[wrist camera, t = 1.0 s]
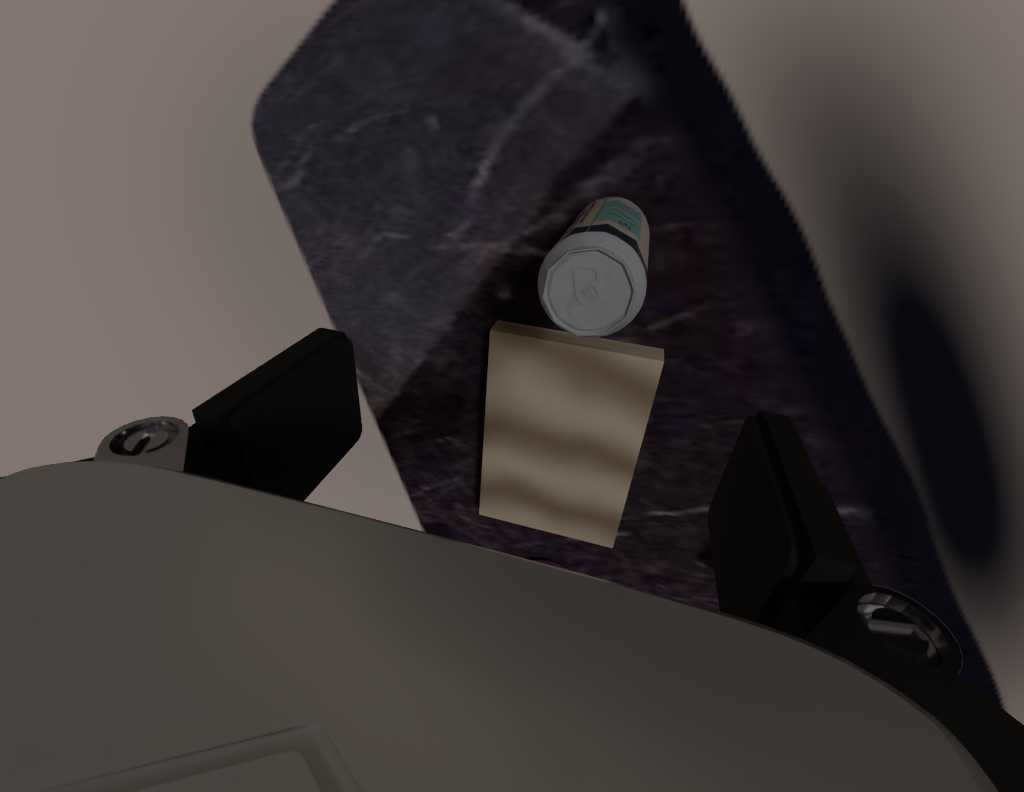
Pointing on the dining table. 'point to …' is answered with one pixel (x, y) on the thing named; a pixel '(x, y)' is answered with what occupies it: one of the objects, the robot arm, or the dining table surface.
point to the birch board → (563, 428)
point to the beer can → (597, 269)
